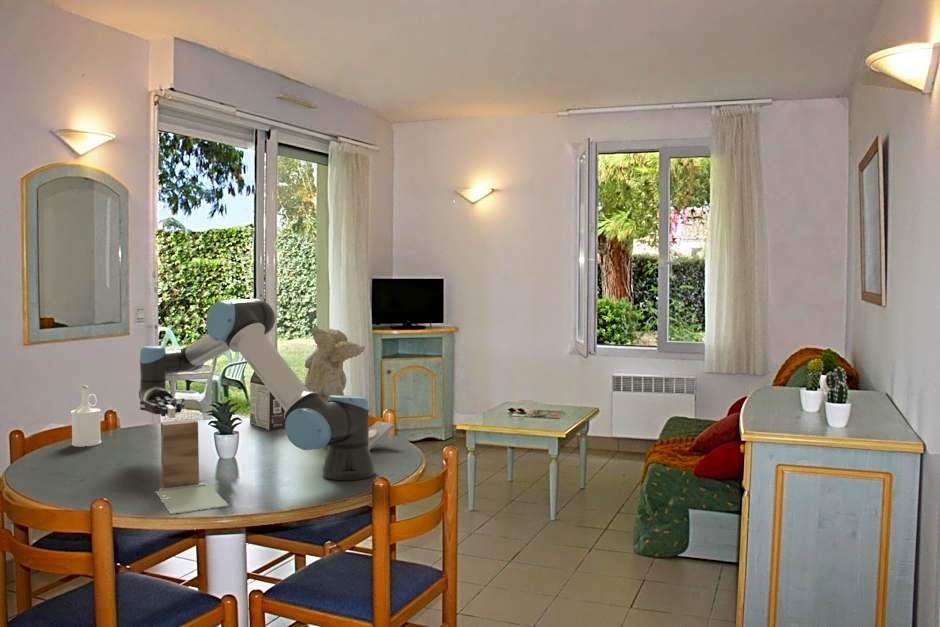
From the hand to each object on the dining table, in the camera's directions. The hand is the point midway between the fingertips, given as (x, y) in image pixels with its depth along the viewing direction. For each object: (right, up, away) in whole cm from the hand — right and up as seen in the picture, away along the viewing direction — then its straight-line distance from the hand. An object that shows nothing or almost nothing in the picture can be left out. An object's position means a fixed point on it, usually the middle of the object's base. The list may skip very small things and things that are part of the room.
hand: (172, 413), depth 233 cm
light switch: (+51, -17, +42) cm, 69 cm away
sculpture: (+35, -15, +66) cm, 76 cm away
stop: (+6, -20, -9) cm, 22 cm away
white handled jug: (-46, -16, +47) cm, 68 cm away
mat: (+11, -20, -18) cm, 30 cm away
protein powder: (+8, -15, +79) cm, 81 cm away
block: (+5, -20, -6) cm, 21 cm away
